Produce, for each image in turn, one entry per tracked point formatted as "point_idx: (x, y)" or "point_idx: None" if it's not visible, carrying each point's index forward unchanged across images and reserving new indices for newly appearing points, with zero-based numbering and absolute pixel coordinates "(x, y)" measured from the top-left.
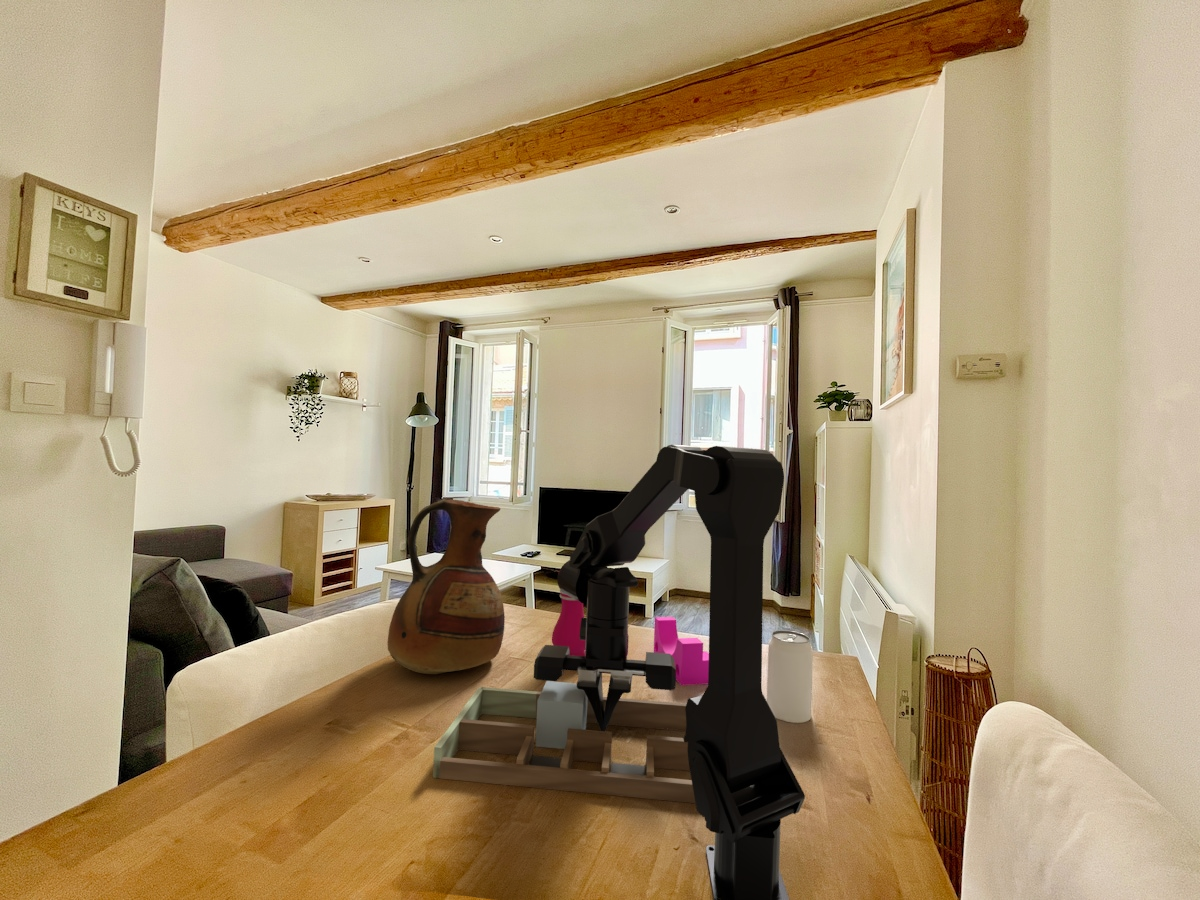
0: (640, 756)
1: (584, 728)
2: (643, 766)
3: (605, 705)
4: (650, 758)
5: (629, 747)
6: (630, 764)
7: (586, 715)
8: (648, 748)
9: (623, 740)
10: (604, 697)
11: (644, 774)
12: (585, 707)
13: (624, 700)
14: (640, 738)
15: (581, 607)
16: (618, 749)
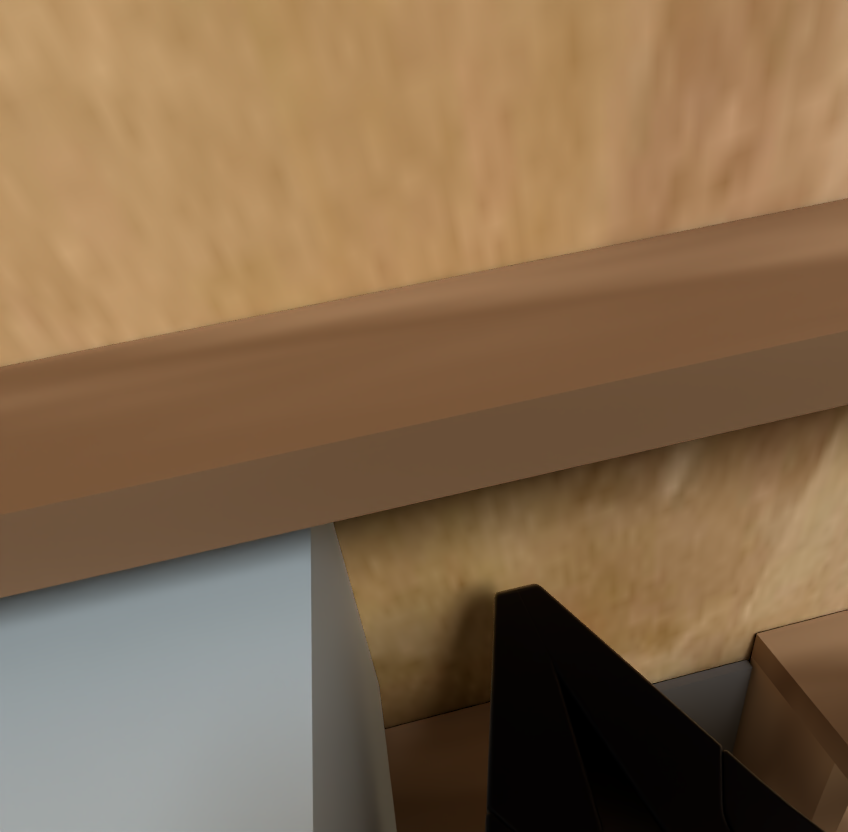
0: (735, 594)
1: (347, 607)
2: (742, 675)
3: (619, 815)
4: (827, 820)
5: (677, 545)
6: (678, 688)
7: (319, 549)
8: (840, 773)
9: (640, 492)
10: (526, 416)
11: (738, 713)
12: (359, 789)
13: (834, 391)
14: (767, 423)
15: None
16: (607, 588)
